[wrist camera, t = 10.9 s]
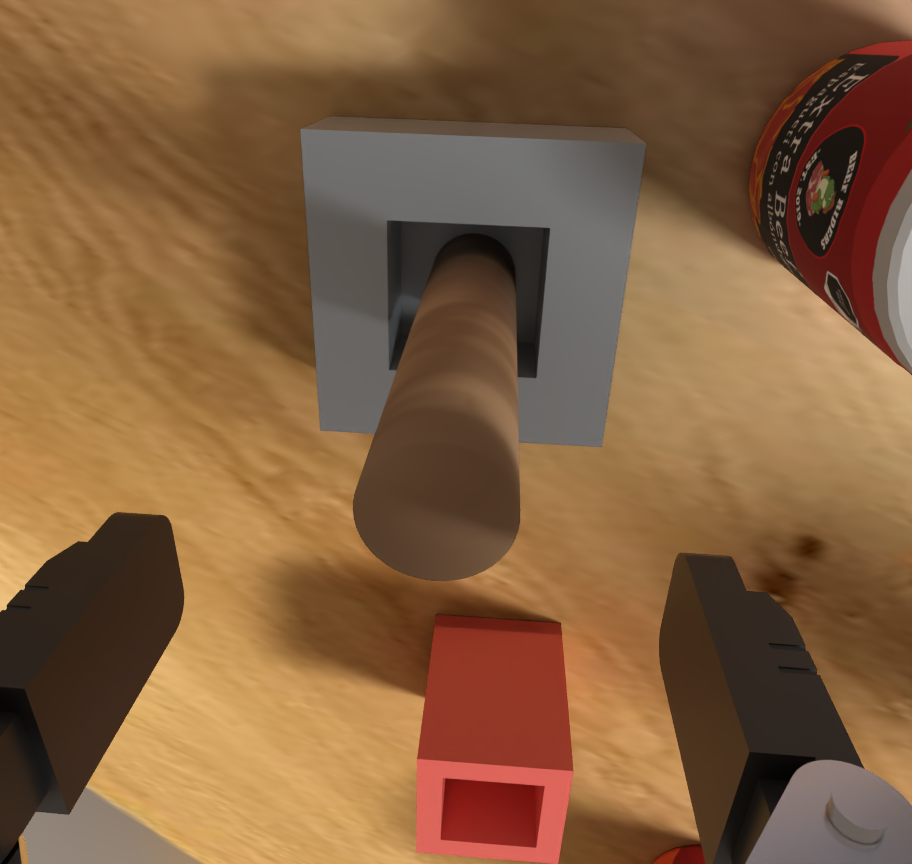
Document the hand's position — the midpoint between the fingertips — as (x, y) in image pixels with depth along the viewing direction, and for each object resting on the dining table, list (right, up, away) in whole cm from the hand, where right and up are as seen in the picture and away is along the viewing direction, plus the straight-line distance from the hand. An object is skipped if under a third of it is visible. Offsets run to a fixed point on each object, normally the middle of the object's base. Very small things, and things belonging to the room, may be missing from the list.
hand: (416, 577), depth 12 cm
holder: (+1, +8, +15) cm, 17 cm away
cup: (+3, -9, +25) cm, 27 cm away
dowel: (+1, +8, +15) cm, 17 cm away
